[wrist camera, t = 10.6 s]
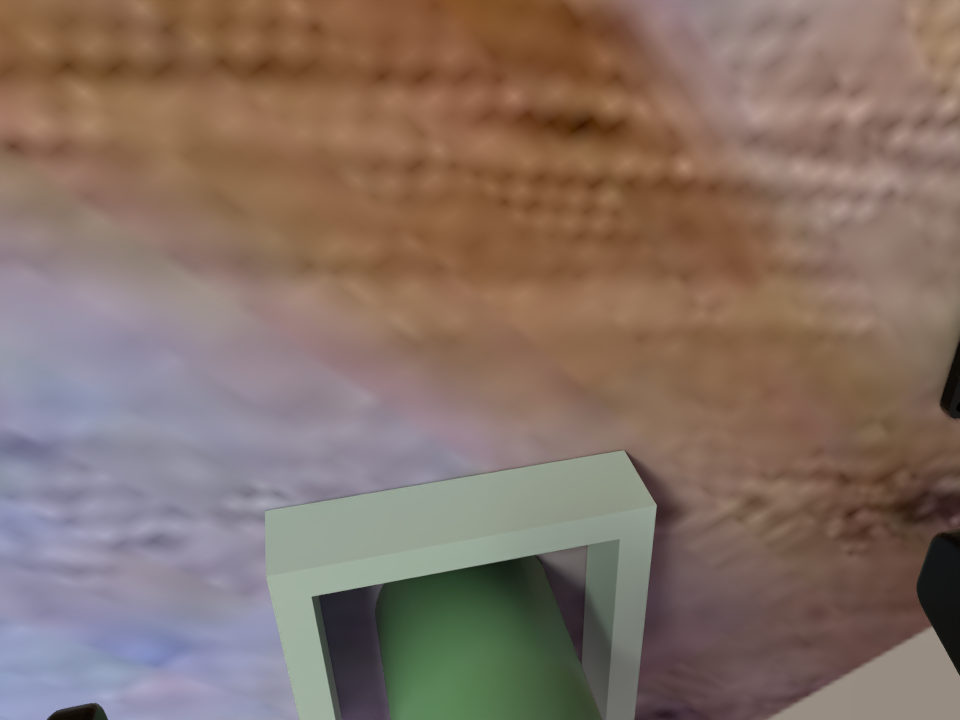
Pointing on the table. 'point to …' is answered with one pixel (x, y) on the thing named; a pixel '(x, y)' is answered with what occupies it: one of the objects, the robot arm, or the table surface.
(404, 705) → the bottle
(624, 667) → the u rest
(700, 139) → the table surface
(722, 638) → the table surface
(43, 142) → the table surface
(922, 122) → the table surface
